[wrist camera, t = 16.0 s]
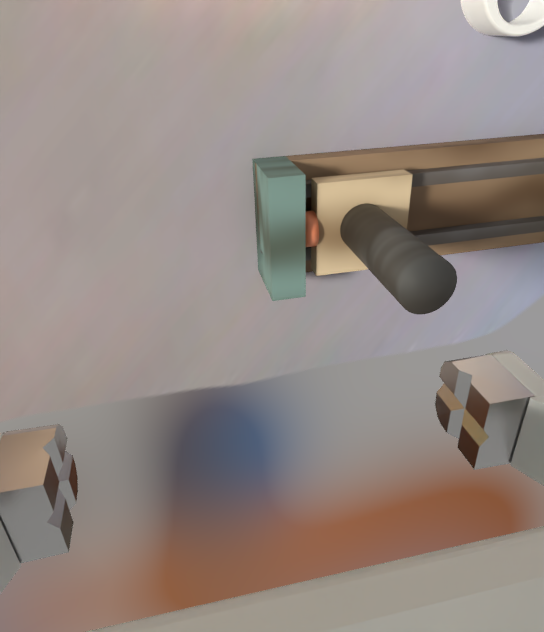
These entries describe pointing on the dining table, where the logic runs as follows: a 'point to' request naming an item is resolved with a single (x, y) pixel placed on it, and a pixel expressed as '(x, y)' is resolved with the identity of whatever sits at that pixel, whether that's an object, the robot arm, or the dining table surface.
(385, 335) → the dining table surface
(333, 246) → the cylinder
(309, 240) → the button
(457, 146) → the rail track
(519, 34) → the white paint palette
